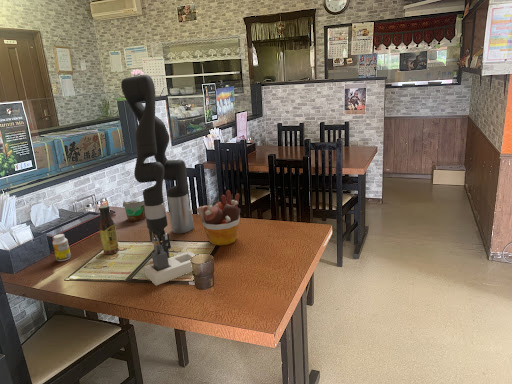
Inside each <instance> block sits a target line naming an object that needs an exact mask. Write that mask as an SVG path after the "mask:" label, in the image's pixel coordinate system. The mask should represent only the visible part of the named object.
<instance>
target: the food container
mask: <svg viewBox="0 0 512 384" xmlns="http://www.w3.org/2000/svg"><path fill="white" fill-rule="evenodd" d="M122 207H123V208H124V210H125V214H126V217H127V218H126V219H127V220H128V222H130V223H135V222H136V221H137V222H141V221H143V220H146V216H145V204H144V200H142V201H135V200H134V201H125V200H123V201H122Z"/></svg>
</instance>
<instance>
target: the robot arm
mask: <svg viewBox="0 0 512 384" xmlns="http://www.w3.org/2000/svg"><path fill="white" fill-rule="evenodd" d="M120 83H121V86H120V87H121V91H122V94H123V96H124V99H125V100H126V102H127V104H128V105H129V108H130V109H131V111H132V112H133V115H135V117H136V118H135V119H136V120H137V121H138V122H137V123H138V125H137V127H136V131H135V143H136V161H135V165H134V166H135V167H134V172H133V173H134V175H133V176H134V178H135V180H136V181H137V182H138V183H140V184H141V183H142V184H143V183H144V184H145V183H152V182H154V185H153V186H150V187H147V188H145V189H143V191H142V198H143V201H144V204H145V216H146V219H145V220H146V227H147V229H148V235H149V241H150V242H152V244H153V242H156V241H158V244H159V245H160V246H161V249H162V250H163V251H165V252H166V253H167V256H168V258H169V257H170V251H169V252H168V250H170V249H172V247H171V240H170V234H169V233H166V231H165V228H166V227H168V224H169V223H168V218H167V211H166V210H167V209H166V206H165V202H164V196H163V195H164V194H163V193H164V192H163V186H164V185H163V184H164V181H167V182H171V181H176V185H174V186H172V187H170V188H168V189H167V190H166V196H167V202H168V210H169V216H170V224H171V231H172V233H174V234H185V233H189V232H191V231H192V230H194V229H195V226H194V217H193V210H192V208H190V201H189V200H190V198H189V192H188V191H189V190H188V176H187V173H188V172H187V165H186V163H185V160H183V159H167V157H166V152H167V148H168V146H169V142H170V135H169V131H168V130H167V127H166V124H165V123H164V121H162V120H161V118H159V117H158V116H157V115H156V88H155V82H154V81H153V78H152V77H151V75H149V74H141V75H135V76H131V77H125V78H123V79H122V80H121V82H120ZM142 102H144V104H143V103H142ZM151 157H154V159H155V161H152V162H145V161H146V160H147V159H149V158H151ZM161 241H162V242H161ZM167 243H168V244H167ZM162 244H163V245H162ZM165 245H166V246H165Z"/></svg>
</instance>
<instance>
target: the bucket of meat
mask: <svg viewBox="0 0 512 384" xmlns="http://www.w3.org/2000/svg"><path fill="white" fill-rule="evenodd" d="M231 193H232V192H231V191H230V190H229V189H228V190H226V192H225V194H222V195H220V199H221V201H218V202H216V203H215V204H214V205H211V204H210V205H203V206H202V205H201V206H198V207H197V208H196V212H197V213H198V215H199V217H200V219H201V223H202V226H203V229H204V231H205V235H206V237H207V240H208V241H209V242H210V243H211V244H212V245H214V246H218V247H219V246H220V247H221V246H228V245H231V244H233V243H235V241H236V240H237V238H238V232H239V228H240V227H239V226H240V218H241V215H240V213H241V208H240V207H238V206H239V202H240V201H239V200H240V196H241V195H240V193H236V194H235V196H234V199H232V194H231Z"/></svg>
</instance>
